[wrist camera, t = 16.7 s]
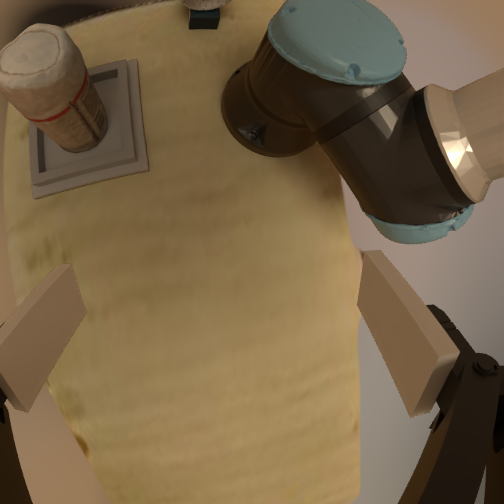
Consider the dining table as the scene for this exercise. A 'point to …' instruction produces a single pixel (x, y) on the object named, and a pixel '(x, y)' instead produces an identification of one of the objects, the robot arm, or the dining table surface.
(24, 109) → the beige textured cylinder
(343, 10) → the robot arm
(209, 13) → the watch
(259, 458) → the dining table surface
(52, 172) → the holder dock
